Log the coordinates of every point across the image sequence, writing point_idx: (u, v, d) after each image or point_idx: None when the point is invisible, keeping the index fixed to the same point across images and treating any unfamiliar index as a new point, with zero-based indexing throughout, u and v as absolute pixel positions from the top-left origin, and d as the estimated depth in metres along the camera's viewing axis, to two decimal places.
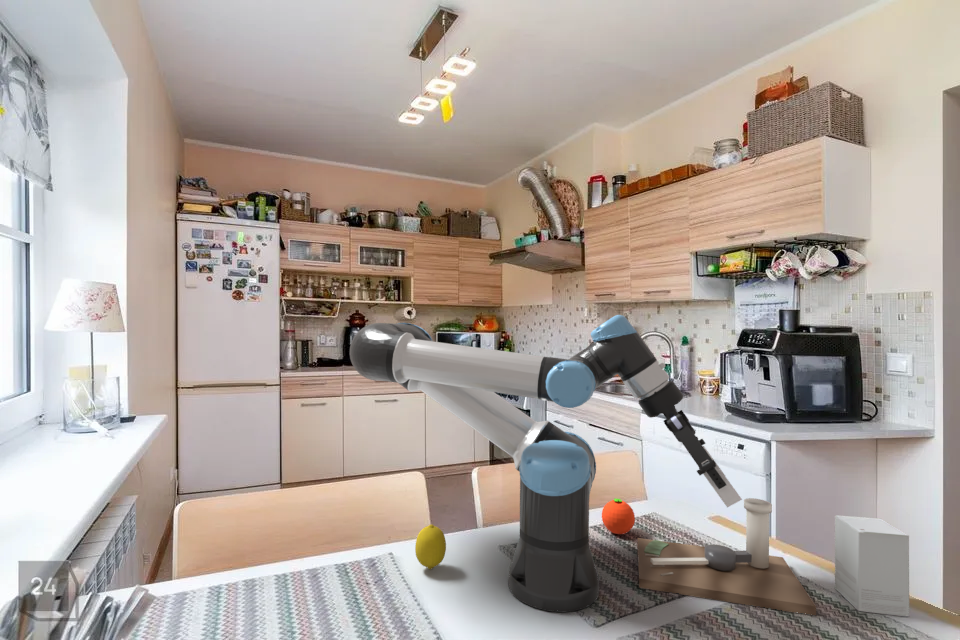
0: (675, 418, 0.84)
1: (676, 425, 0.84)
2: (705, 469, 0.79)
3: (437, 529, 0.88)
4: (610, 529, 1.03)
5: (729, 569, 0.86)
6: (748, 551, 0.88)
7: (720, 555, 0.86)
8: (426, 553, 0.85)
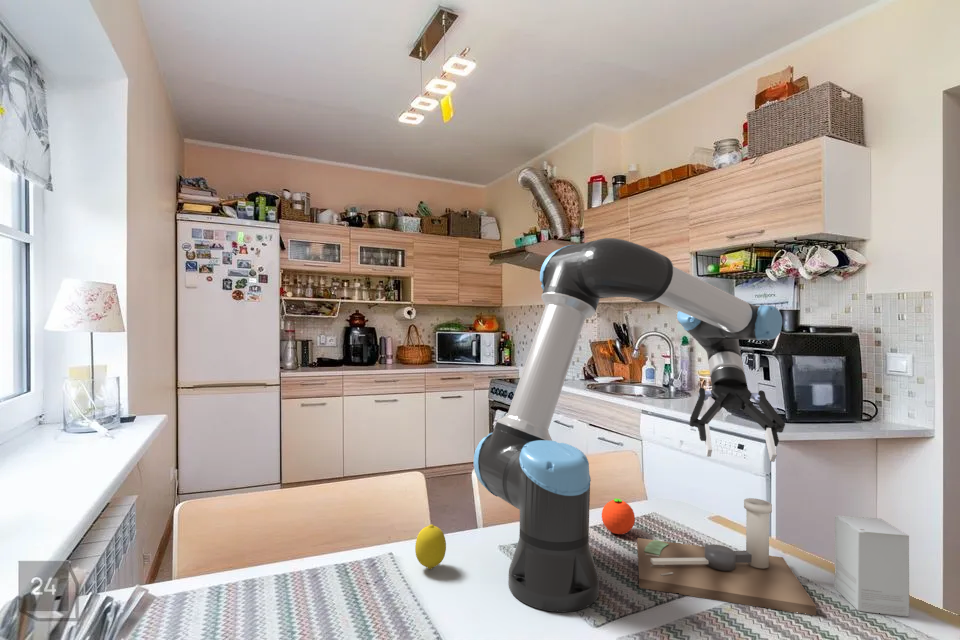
0: None
1: None
2: (784, 426, 1.05)
3: (437, 529, 0.88)
4: (610, 529, 1.03)
5: (729, 569, 0.86)
6: (748, 551, 0.88)
7: (720, 555, 0.86)
8: (426, 553, 0.85)
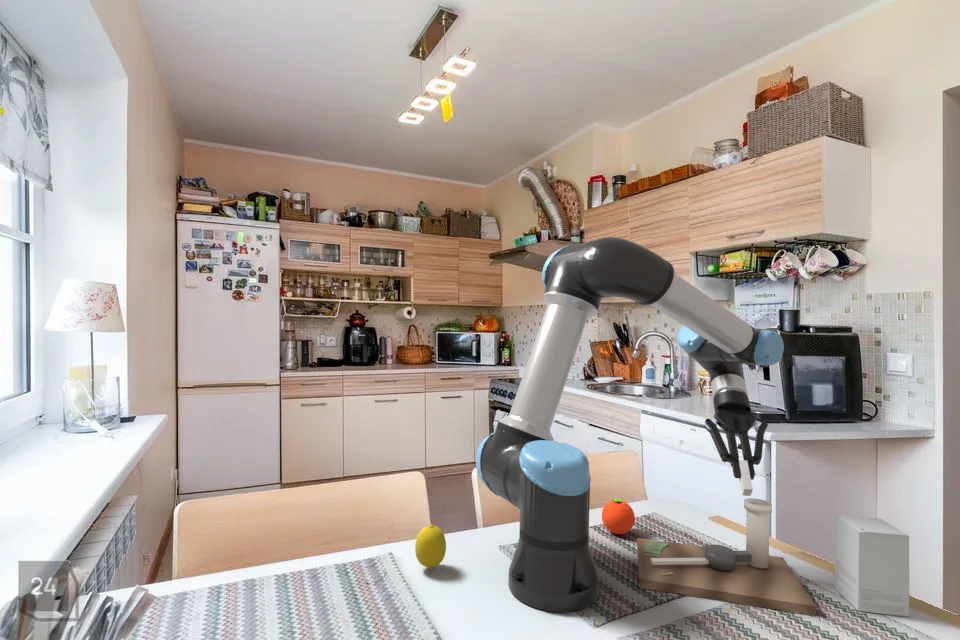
0: (766, 428, 1.08)
1: (765, 430, 1.07)
2: None
3: (437, 529, 0.88)
4: (610, 529, 1.03)
5: (729, 569, 0.86)
6: (748, 551, 0.88)
7: (720, 555, 0.86)
8: (426, 553, 0.85)
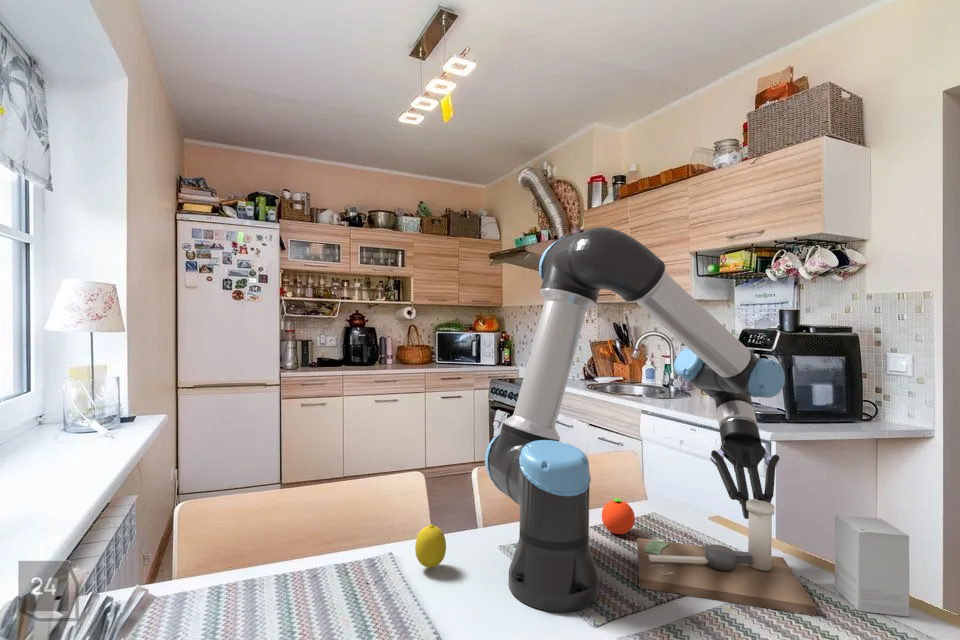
0: (777, 461, 1.00)
1: (776, 464, 0.99)
2: (772, 497, 0.94)
3: (437, 529, 0.88)
4: (610, 529, 1.03)
5: (727, 569, 0.85)
6: (750, 552, 0.88)
7: (718, 555, 0.86)
8: (426, 553, 0.85)
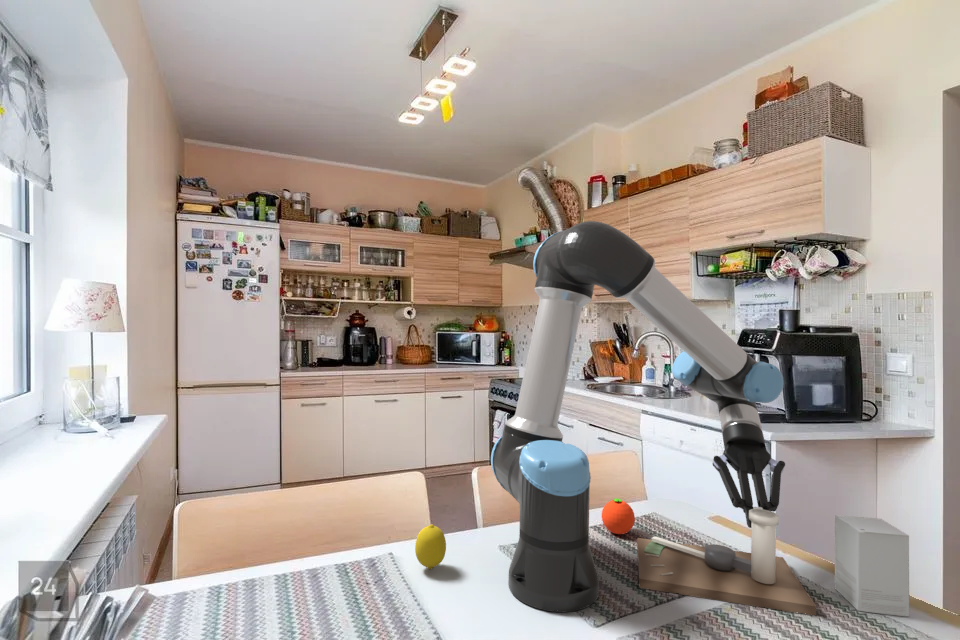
0: (783, 467, 0.95)
1: (782, 470, 0.94)
2: None
3: (437, 529, 0.88)
4: (610, 529, 1.03)
5: (716, 567, 0.86)
6: (751, 561, 0.84)
7: (709, 552, 0.87)
8: (426, 553, 0.85)
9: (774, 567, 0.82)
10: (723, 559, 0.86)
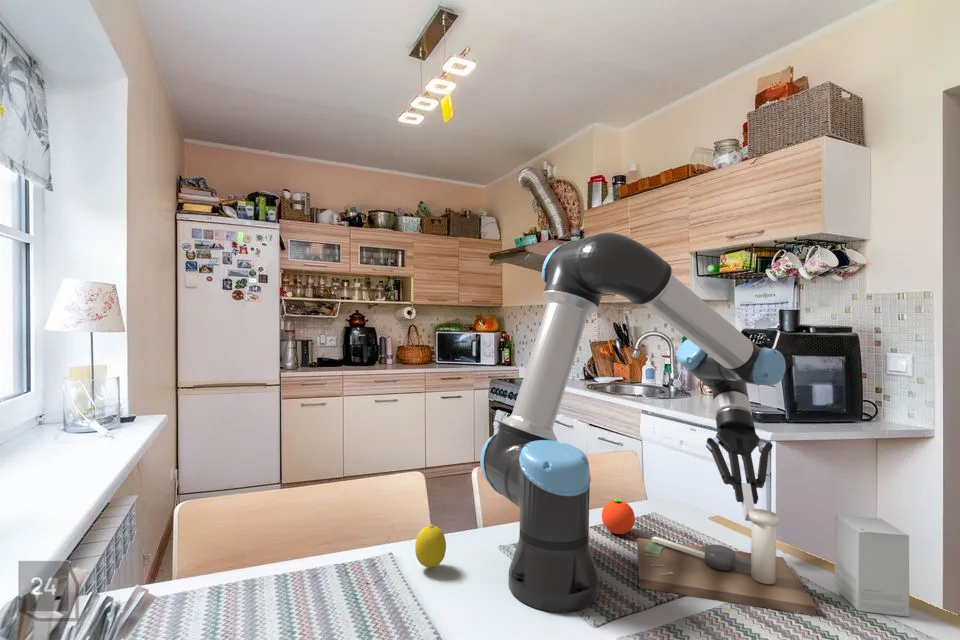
0: None
1: (769, 451, 1.03)
2: (764, 482, 0.98)
3: (437, 529, 0.88)
4: (610, 529, 1.03)
5: (716, 567, 0.86)
6: (751, 561, 0.84)
7: (709, 552, 0.87)
8: (426, 553, 0.85)
9: (774, 567, 0.82)
10: (723, 559, 0.86)
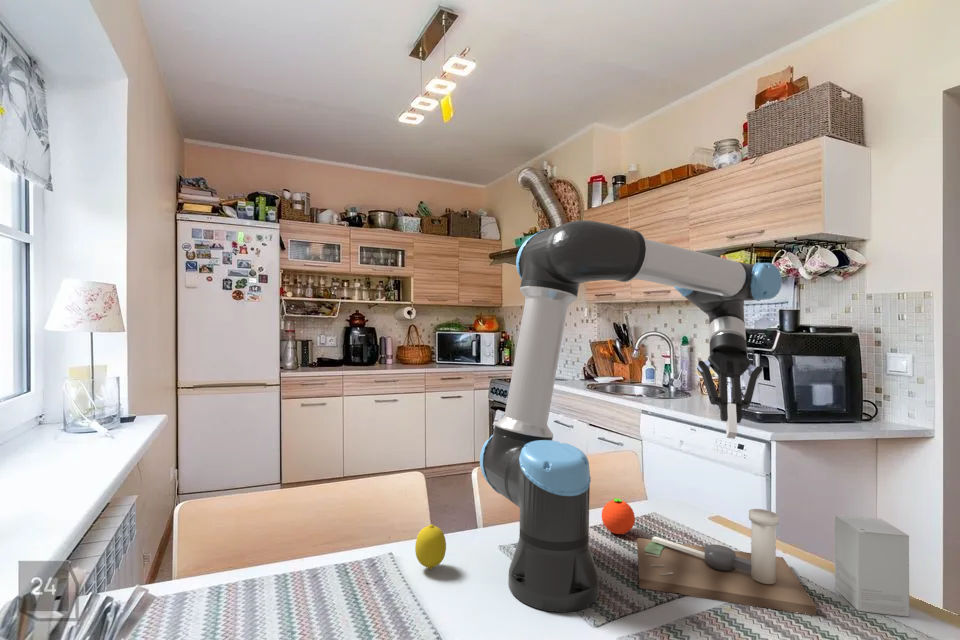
0: (760, 372, 1.06)
1: (758, 374, 1.05)
2: None
3: (437, 529, 0.88)
4: (610, 529, 1.03)
5: (716, 567, 0.86)
6: (751, 561, 0.84)
7: (709, 552, 0.87)
8: (426, 553, 0.85)
9: (774, 567, 0.82)
10: (723, 559, 0.86)
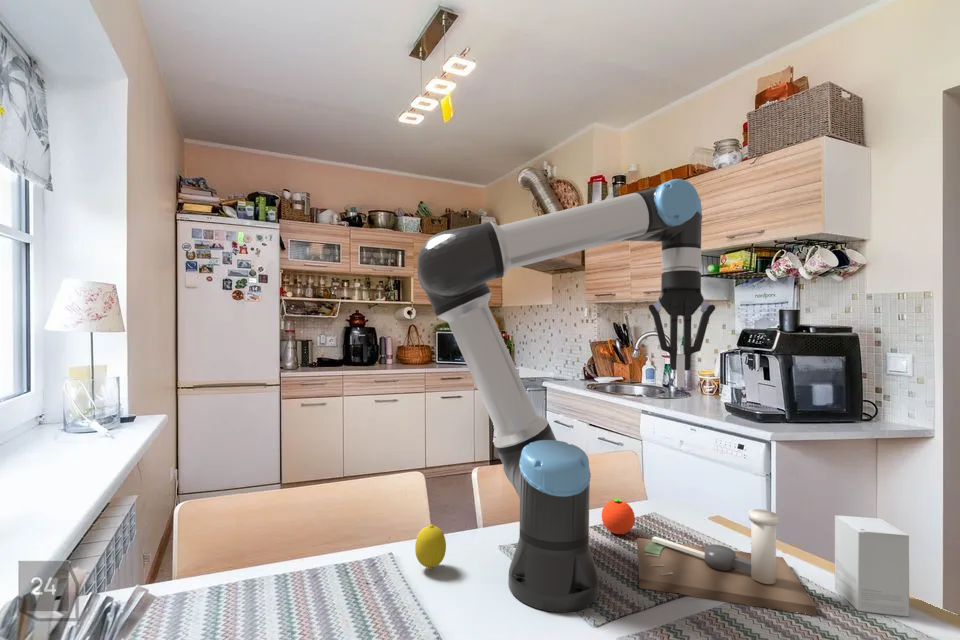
0: None
1: (711, 312, 0.98)
2: (699, 349, 0.98)
3: (437, 529, 0.88)
4: (610, 529, 1.03)
5: (716, 567, 0.86)
6: (751, 561, 0.84)
7: (709, 552, 0.87)
8: (426, 553, 0.85)
9: (774, 567, 0.82)
10: (723, 559, 0.86)
